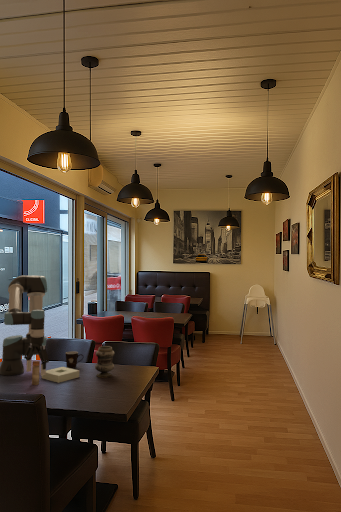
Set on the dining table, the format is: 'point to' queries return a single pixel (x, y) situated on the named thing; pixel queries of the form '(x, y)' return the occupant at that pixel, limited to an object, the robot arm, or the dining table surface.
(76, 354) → the coffee mug
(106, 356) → the apothecary jar
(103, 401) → the dining table surface
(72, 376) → the socket block
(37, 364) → the peg
